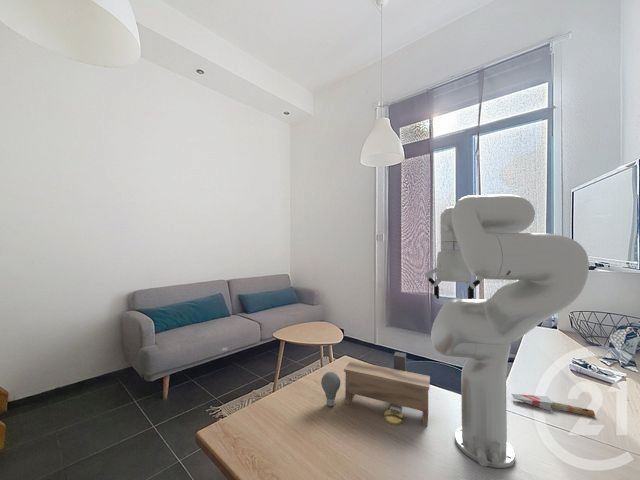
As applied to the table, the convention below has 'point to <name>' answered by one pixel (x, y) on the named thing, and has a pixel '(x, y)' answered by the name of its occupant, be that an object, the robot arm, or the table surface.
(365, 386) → the wooden bench
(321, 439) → the table surface
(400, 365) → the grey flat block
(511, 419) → the table surface
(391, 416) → the token
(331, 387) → the light bulb
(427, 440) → the table surface
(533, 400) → the paintbrush
